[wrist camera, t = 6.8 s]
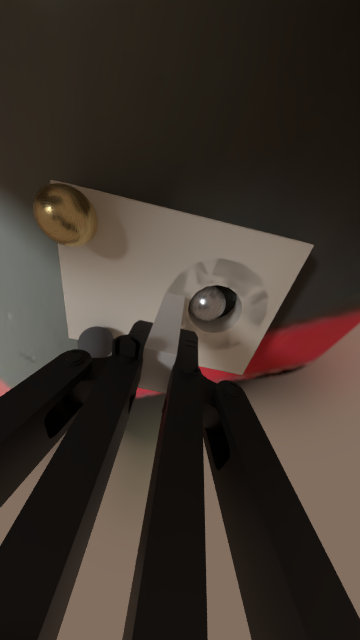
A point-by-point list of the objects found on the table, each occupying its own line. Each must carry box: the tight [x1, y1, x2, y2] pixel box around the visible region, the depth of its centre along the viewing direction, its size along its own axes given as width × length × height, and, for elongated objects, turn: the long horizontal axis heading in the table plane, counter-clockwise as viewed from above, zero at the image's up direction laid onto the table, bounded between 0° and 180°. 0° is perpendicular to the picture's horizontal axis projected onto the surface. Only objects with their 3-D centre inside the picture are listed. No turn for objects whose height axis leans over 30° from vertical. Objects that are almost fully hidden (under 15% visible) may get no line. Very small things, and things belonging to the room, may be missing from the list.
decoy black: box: [78, 326, 114, 358], centre depth 17 cm, size 3×3×3 cm
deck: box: [50, 180, 314, 375], centre depth 17 cm, size 18×13×2 cm
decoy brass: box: [33, 183, 98, 247], centre depth 12 cm, size 3×3×3 cm
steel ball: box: [189, 286, 226, 321], centre depth 17 cm, size 3×3×3 cm
